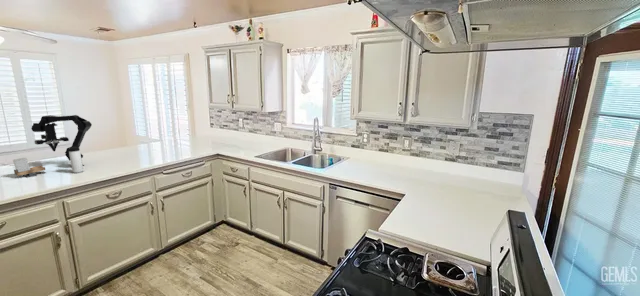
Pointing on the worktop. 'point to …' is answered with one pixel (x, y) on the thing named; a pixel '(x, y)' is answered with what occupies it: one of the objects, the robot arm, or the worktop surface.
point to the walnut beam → (32, 170)
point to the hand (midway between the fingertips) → (54, 151)
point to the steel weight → (21, 165)
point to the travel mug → (75, 159)
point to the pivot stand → (30, 174)
